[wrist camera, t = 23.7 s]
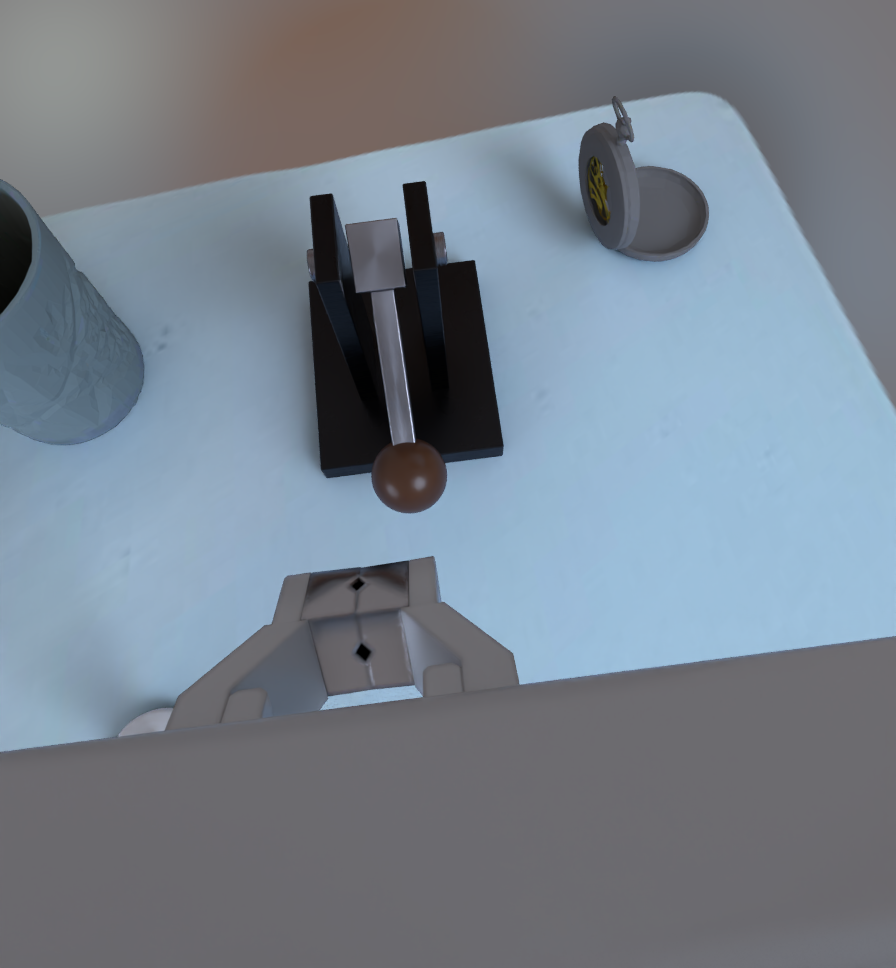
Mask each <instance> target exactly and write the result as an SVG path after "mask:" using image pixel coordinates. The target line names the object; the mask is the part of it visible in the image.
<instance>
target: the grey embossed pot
mask: <svg viewBox="0 0 896 968" xmlns="http://www.w3.org/2000/svg"><path fill="white" fill-rule="evenodd" d="M143 378H144V363H143V355H142V352H141V349H140V346H139V344H138V342H137V341H136V339H135V338H134V336H133V335H132V333H131V332H130V331H129V329H128V328H127V327H126V326H125V325H124V323H123V322H122V321H121V320H120V319H119V318H118V317H117V316H116V315H115V314H114V312H113V311H112V310H111V308H110V307H109V306H108V305H107V304H106V302H105V300H104V299H103V297H102V296H101V295H100V294H99V293H98V292H97V290H96V289H95V288H94V287H93V285H92V284H91V283H90V281H89V280H88V278H87V277H86V276H85V275H84V274H83V273H82V272H80V271H77V270H76V268H75V263H74V261H73V260H72V258H71V257H70V256H69V254H68V253H67V252H66V251H65V249H64V248H63V247H62V246H61V244H60V243H59V242H58V240H57V239H56V238H55V237H54V236H53V234H52V233H51V231H50V230H49V229H48V227H47V226H46V225H45V223H44V222H43V221H42V219H41V218H40V217H39V215H38V214H37V213H36V211H35V210H34V209H33V207H32V206H31V205H30V203H29V202H28V201H27V200H26V198H25V197H24V196H23V195H22V194H21V193H20V192H19V191H18V190H16V189H15V188H14V187H13V186H11V185H10V184H8V183H7V182H5V181H3V180H1V179H0V424H1V425H3V426H6V427H11V428H12V429H13V430H15V431H17V432H18V433H21V434H23V435H25V436H27V437H29V438H32V439H34V440H37V441H40V442H44V443H49V444H56V445H71V444H77V443H82V442H85V441H89V440H92V439H94V438H96V437H98V436H100V435H102V434H104V433H106V432H107V431H109V430H111V429H112V428H114V427H115V426H117V425H118V423H119V422H120V421H121V420H122V419H123V418H124V417H125V416H126V415H127V414H128V413H129V412H130V410H131V408H132V406H134V405H136V402H137V399H138V394H139V393H140V392H141V387H142V385H143Z"/></svg>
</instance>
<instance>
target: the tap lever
mask: <svg viewBox="0 0 896 968" xmlns="http://www.w3.org/2000/svg"><path fill="white" fill-rule="evenodd" d="M345 228H346V235H347V241H348V248H349V254H350V261H351V267H352V274H353V280H354V287H355V292H356V293H367V292H370V298H371V304H372V311H373V318H374V325H375V331H376V338H377V345H378V351H379V358H380V365H381V372H382V378H383V385H384V392H385V398H386V405H387V412H388V419H389V425H390V432H391V439H392V442H391V443H389V444H388V445H386V446H385V447H384V448H383V449H382V450H381V451H380V452H379V454H378V455H377V457H376V459H375V461H374V463H373V467H372V476H371V478H372V484H373V488H374V491H375V493H376V494H377V496H378V498H379V499H380V500H381V501H382V502H383V503H384V504H385V505H386V506H387V507H389V508H391V509H392V510H395V511H397V512H401V513H418V512H421V511H424V510H426V509H428V508H430V507H431V506H432V505H434V504H435V503H436V502H437V501H438V500H439V498H440V497H441V495H442V494H443V492H444V489H445V486H446V482H447V469H446V465H445V462H444V460H443V458H442V456H441V455H440V453H439V452H438V451H437V450H436V449H435V448H434V447H433V446H432V445H430V444H429V443H427V442H425V441H423V440H420V439H416V434H415V427H414V419H413V412H412V405H411V398H410V391H409V384H408V376H407V369H406V362H405V355H404V348H403V341H402V333H401V326H400V319H399V312H398V305H397V298H396V291H395V289H398V288H406V287H407V286H408V285H407V278H406V270H405V263H404V255H403V248H402V241H401V233H400V226H399V223H398V220H397V218H392V219H384V220H376V221H369V222H361V223H353V224H346V225H345Z"/></svg>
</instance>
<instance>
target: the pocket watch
mask: <svg viewBox="0 0 896 968" xmlns="http://www.w3.org/2000/svg"><path fill="white" fill-rule="evenodd" d="M612 103H613V107H614V111H615V114H616V116H617V119H618V120H617V122H616V124H615V125H616V129H615V128H614V127H613V126H612V125H611V124H608V123H604V122H603V123H601V124H598V125H595V126H593V127H592V128H591V129H589V130H588V131H587V132H586V133H585V134H584V136H583V138H582V141H581V146H580V154H579V179H580V188H581V194H582V198H583V202H584V207H585V211H586V214H587V217H588V220H589V222H590V225H591V227H592V229H593V231H594V233H595V235H596V237H597V238H598V240H599V241H600V242H601V244H602V245H604V246H605V247H606V248H608V249H616V250H618V251H620V252H622V253H623V254H625V255H627V256H630V257H633V258H636V259H639V260H644V261H665V260H669V259H673V258H676V257H679V256H681V255H683V254H685V253H686V252H688V251H689V250H690V249H692V248H693V247H694V246H695V245H696V244H697V242H698V241H699V240H700V238H701V237H702V235H703V234H704V232H705V230H706V227H707V224H708V218H709V207H708V204H707V200H706V198H705V196H704V194H703V192H702V191H701V190H700V188H699V187H698V186H697V185H696V184H695V183H694V182H693V181H692V180H691V179H689V178H688V177H686V176H685V175H683V174H681V173H679V172H677V171H674V170H672V169H667V168H661V167H654V166H647V167H639V168H635V165H634V163H633V160H632V157H631V154H630V151H629V148H628V146H627V144H626V141H627V140H629V141H630V142H633V141H634V133H633V130H632V126H631V118H629V117H628V116H627V113H626V111H625V109H624V107H623V105H622V103H621V102H620V100H619V99H618V98H617V97H616V96H614V97H613V99H612ZM617 105H618V106H617ZM618 107H619V109H620V111H621V113H622V115H623V117H622V118H621V115H620V113H619V109H618ZM602 165H603V171H601V170H602ZM601 173H602V176H601ZM603 177H604V178H603ZM605 184H606V185H605Z"/></svg>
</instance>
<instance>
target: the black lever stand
mask: <svg viewBox="0 0 896 968" xmlns="http://www.w3.org/2000/svg"><path fill="white" fill-rule="evenodd" d="M403 193H404V201H405V209H406V217H407V226H408V234H409V242H410V250H411V258H412V267H413V268H409V269H405V270H406V278H407V285H408V286H407V287H406V288H398V289H395V291H396V298H397V305H398V312H399V319H400V326H401V333H402V341H403V348H404V355H405V362H406V369H407V376H408V384H409V391H410V398H411V405H412V412H413V419H414V427H415V434H416V439H420V440H423V441H425V442H427V443H429V444H430V445H432V446H433V447H434V448H435V449H436V450H437V451H438V452H439V453H440V455H441V456H442V458H443V460H444V462H445V463H449V462H457V461H464V460H472V459H480V458H488V457H496V456H502V455H503V439H502V433H501V426H500V420H499V413H498V407H497V400H496V394H495V387H494V381H493V374H492V368H491V361H490V355H489V348H488V342H487V336H486V329H485V323H484V316H483V310H482V303H481V297H480V290H479V284H478V277H477V271H476V264H475V261H474V260H471V261H463V262H455V263H448V264H447V254H446V245H445V238H444V233H443V232H438V233H433V232H432V224H431V217H430V209H429V202H428V194H427V187H426V182H425V181H422V182H414V183H406V184H403ZM310 209H311V223H312V238H313V249H309V250H307V263H308V269H309V273H310V277H311V279H312V281H310V282H309V297H310V312H311V327H312V342H313V357H314V372H315V387H316V402H317V417H318V432H319V447H320V462H321V470H322V472H323V473H324V475H325V476H326V478H332V477H340V476H348V475H355V474H363V473H371V472H372V467H373V463H374V461H375V459H376V457H377V455H378V454H379V452H380V451H381V450H382V449H383V448H384V447H385V446H386V445H388V444H389V443H391V442H392V439H391V432H390V425H389V419H388V412H387V405H386V398H385V392H384V385H383V378H382V372H381V365H380V358H379V351H378V345H377V338H376V331H375V325H374V318H373V311H372V304H371V298H370V292H367V293H356V292H355V287H354V280H353V274H352V267H351V261H350V254H349V249H348V246H347V242H346V239H345V235H344V232H343V228H342V225H341V221H340V218H339V215H338V211H337V208H336V204H335V201H334V197H333V195H332V194H323V195H316V196H310Z"/></svg>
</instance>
